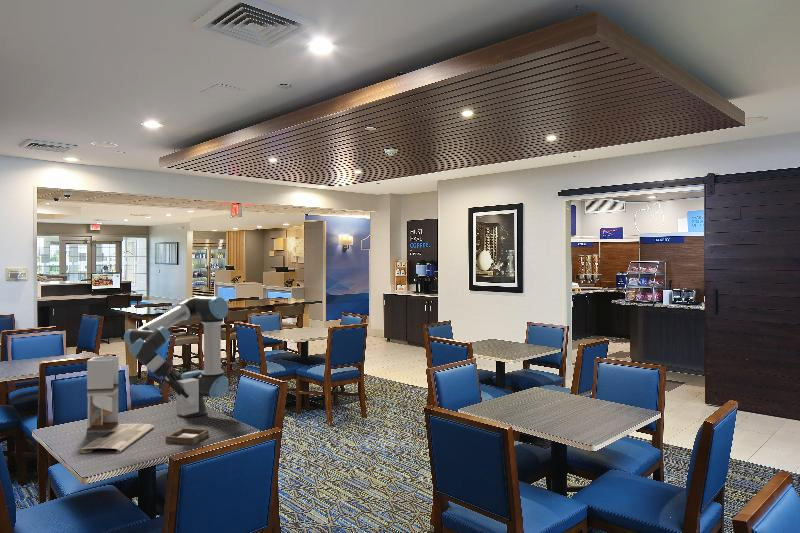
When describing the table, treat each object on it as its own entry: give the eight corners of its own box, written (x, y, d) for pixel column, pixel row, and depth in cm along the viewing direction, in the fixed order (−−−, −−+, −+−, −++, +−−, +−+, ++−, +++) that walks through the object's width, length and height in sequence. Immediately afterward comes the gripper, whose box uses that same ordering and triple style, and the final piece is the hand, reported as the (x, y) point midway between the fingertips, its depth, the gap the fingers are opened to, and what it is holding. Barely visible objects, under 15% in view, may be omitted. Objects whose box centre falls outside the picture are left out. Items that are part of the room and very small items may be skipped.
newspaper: (118, 429, 278) (118, 423, 278) (157, 429, 279) (157, 423, 279) (78, 454, 241) (78, 447, 241) (124, 454, 242) (124, 447, 242)
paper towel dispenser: (86, 433, 269) (87, 360, 269) (93, 426, 279) (93, 357, 279) (112, 431, 272) (113, 359, 271) (118, 425, 282) (118, 356, 282)
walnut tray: (182, 433, 269) (182, 427, 269) (208, 435, 267) (208, 429, 267) (165, 442, 256) (165, 436, 256) (192, 444, 254) (192, 438, 254)
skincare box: (192, 409, 267) (192, 377, 267) (199, 412, 263) (199, 379, 262) (175, 413, 260) (175, 380, 260) (182, 416, 256) (183, 382, 256)
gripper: (156, 368, 268) (191, 399, 272) (147, 377, 247) (185, 411, 251) (168, 356, 270) (203, 387, 274) (160, 365, 248) (198, 398, 252)
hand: (194, 398), depth 262 cm, fingers closed on skincare box, 10 cm apart
